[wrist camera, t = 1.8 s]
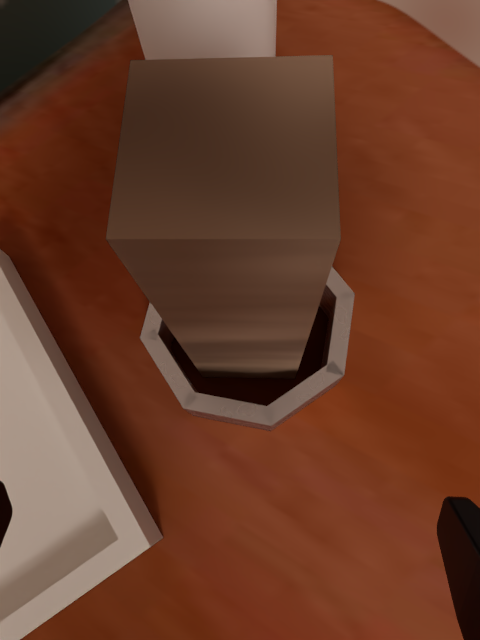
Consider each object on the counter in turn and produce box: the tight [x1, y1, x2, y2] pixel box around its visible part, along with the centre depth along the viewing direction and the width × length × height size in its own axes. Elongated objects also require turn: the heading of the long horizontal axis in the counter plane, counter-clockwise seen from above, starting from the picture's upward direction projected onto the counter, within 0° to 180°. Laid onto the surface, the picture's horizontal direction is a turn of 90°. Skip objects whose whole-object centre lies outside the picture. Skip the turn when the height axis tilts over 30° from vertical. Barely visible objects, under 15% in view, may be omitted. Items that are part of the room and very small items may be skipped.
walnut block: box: [106, 55, 341, 379], centre depth 17 cm, size 5×5×15 cm
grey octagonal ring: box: [140, 267, 355, 431], centre depth 23 cm, size 10×10×3 cm
